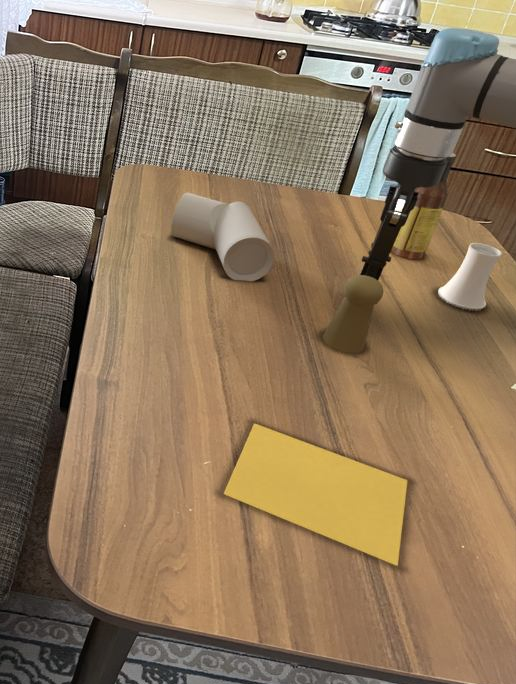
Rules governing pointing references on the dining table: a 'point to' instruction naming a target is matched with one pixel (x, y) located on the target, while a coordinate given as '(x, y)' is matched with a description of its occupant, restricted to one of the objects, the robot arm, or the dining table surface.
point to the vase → (471, 278)
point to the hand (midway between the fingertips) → (360, 298)
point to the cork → (353, 314)
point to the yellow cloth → (321, 492)
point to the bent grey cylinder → (225, 234)
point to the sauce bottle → (423, 218)
